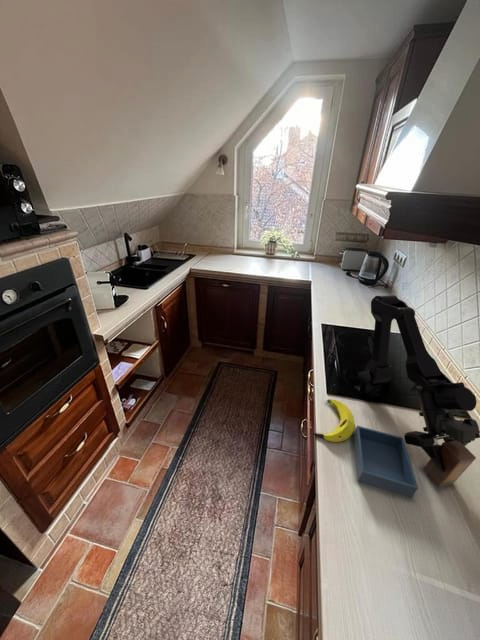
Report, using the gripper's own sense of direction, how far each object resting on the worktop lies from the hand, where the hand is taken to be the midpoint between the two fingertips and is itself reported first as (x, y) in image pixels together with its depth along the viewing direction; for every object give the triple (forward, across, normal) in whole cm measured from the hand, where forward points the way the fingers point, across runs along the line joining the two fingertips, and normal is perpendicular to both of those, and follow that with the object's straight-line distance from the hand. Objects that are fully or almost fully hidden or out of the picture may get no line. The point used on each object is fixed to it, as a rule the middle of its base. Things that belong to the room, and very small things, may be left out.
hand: (450, 470), depth 67 cm
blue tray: (-1, -14, +10) cm, 17 cm away
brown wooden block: (+3, 0, +5) cm, 6 cm away
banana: (-12, -21, +21) cm, 32 cm away
